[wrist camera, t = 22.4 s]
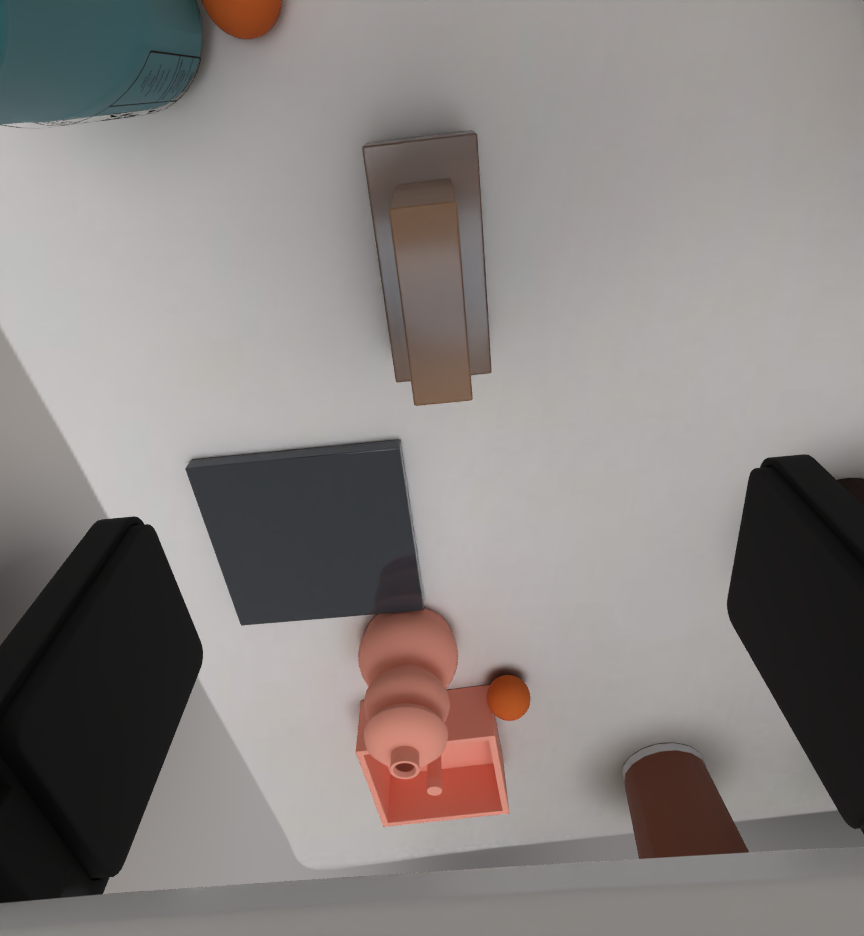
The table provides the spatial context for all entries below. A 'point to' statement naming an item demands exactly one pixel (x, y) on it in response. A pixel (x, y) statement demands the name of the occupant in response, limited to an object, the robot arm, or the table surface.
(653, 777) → the coffee cup
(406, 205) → the brush
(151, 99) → the beverage bottle
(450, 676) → the pottery
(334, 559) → the slate tile
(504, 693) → the felt ball
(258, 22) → the felt ball
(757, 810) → the table surface
